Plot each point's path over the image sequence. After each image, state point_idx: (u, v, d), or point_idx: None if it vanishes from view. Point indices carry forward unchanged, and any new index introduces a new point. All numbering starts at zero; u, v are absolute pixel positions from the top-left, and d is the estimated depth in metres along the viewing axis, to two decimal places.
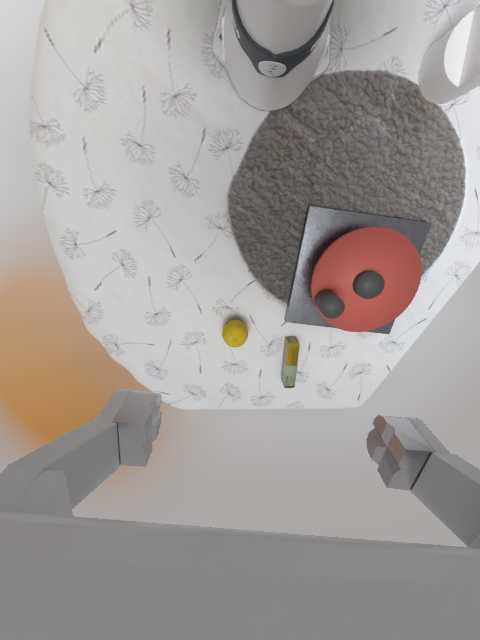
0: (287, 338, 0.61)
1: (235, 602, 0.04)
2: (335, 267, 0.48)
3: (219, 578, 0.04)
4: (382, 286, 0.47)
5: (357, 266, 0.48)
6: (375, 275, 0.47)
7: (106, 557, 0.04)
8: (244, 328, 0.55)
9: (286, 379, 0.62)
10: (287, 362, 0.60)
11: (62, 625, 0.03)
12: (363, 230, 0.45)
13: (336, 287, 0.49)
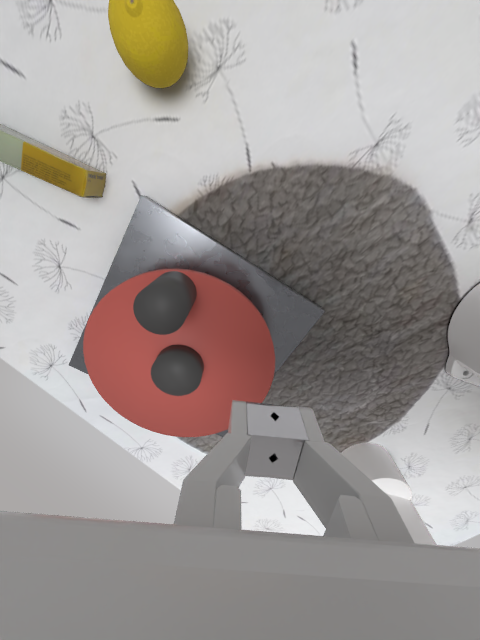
0: (101, 176, 0.27)
1: (235, 602, 0.04)
2: (230, 327, 0.26)
3: (219, 578, 0.04)
4: (167, 391, 0.27)
5: (215, 360, 0.27)
6: (192, 386, 0.26)
7: (106, 556, 0.04)
8: (159, 72, 0.20)
9: None
10: (33, 148, 0.24)
11: (62, 625, 0.03)
12: (269, 381, 0.28)
13: (191, 319, 0.26)
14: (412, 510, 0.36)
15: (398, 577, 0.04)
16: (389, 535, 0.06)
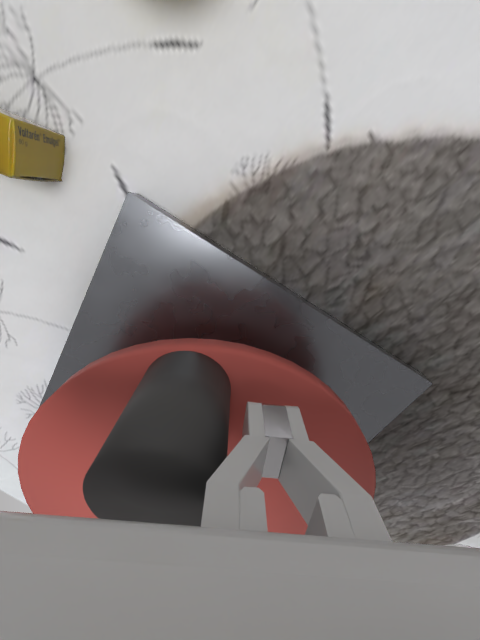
0: (53, 139, 0.14)
1: (235, 602, 0.04)
2: None
3: (219, 578, 0.04)
4: None
5: (264, 493, 0.15)
6: None
7: (106, 557, 0.04)
8: None
9: None
10: None
11: (62, 625, 0.03)
12: None
13: None
14: None
15: (398, 577, 0.04)
16: (367, 533, 0.06)
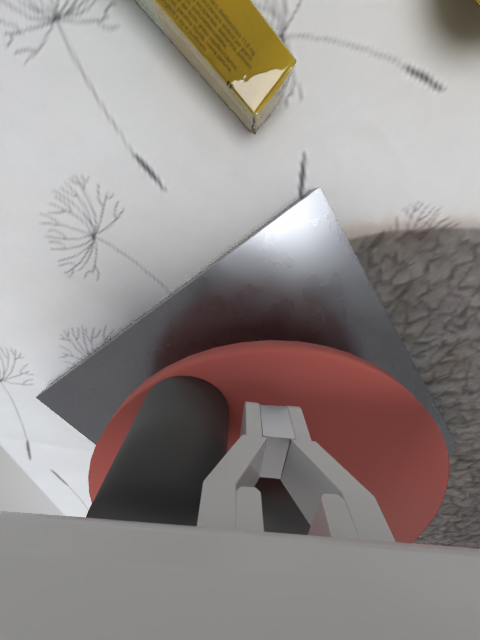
0: (283, 92, 0.13)
1: (235, 602, 0.04)
2: (318, 414, 0.12)
3: (219, 578, 0.04)
4: None
5: None
6: None
7: (106, 557, 0.04)
8: None
9: None
10: None
11: (62, 625, 0.03)
12: (442, 461, 0.14)
13: None
14: None
15: (398, 577, 0.04)
16: (370, 534, 0.06)
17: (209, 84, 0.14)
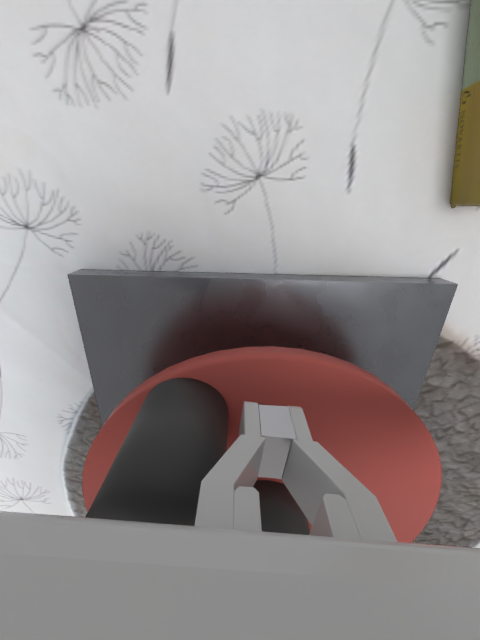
0: None
1: (235, 602, 0.04)
2: (317, 422, 0.13)
3: (219, 578, 0.04)
4: None
5: None
6: None
7: (106, 557, 0.04)
8: None
9: None
10: None
11: (62, 625, 0.03)
12: (435, 474, 0.14)
13: None
14: None
15: (398, 577, 0.04)
16: (372, 534, 0.06)
17: (458, 146, 0.15)
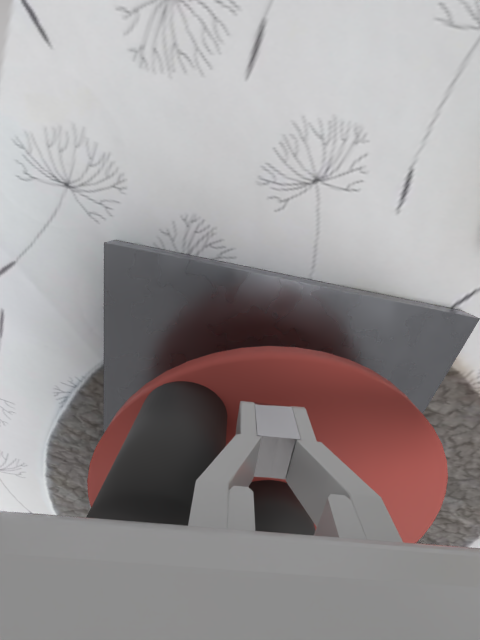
0: None
1: (235, 602, 0.04)
2: (317, 421, 0.12)
3: (219, 578, 0.04)
4: None
5: None
6: None
7: (106, 556, 0.04)
8: None
9: None
10: None
11: (62, 625, 0.03)
12: (441, 468, 0.14)
13: None
14: None
15: (398, 577, 0.04)
16: (378, 534, 0.06)
17: None
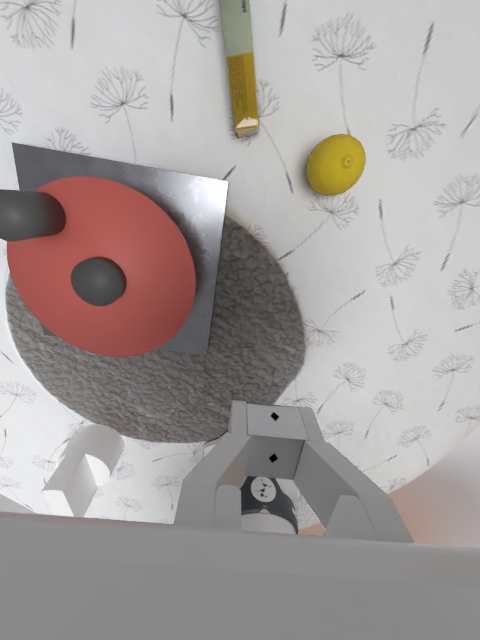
0: (255, 132, 0.29)
1: (235, 602, 0.04)
2: (108, 214, 0.26)
3: (219, 578, 0.04)
4: (102, 304, 0.28)
5: (124, 254, 0.28)
6: (114, 286, 0.27)
7: (107, 555, 0.04)
8: (316, 182, 0.27)
9: None
10: (252, 64, 0.25)
11: (62, 625, 0.03)
12: (181, 243, 0.27)
13: (75, 229, 0.27)
14: (92, 493, 0.44)
15: (398, 577, 0.04)
16: (389, 535, 0.06)
17: None
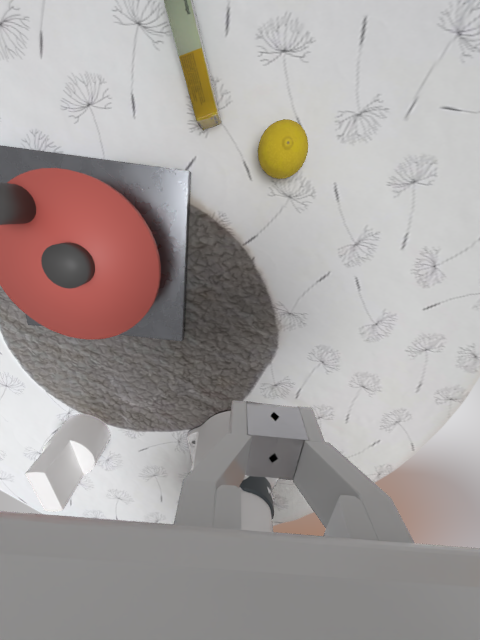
0: (217, 122, 0.31)
1: (235, 602, 0.04)
2: (73, 201, 0.29)
3: (219, 578, 0.04)
4: (72, 286, 0.30)
5: (90, 239, 0.30)
6: (81, 268, 0.30)
7: (107, 556, 0.04)
8: (265, 166, 0.29)
9: None
10: (202, 59, 0.27)
11: (62, 625, 0.03)
12: (142, 227, 0.30)
13: (45, 217, 0.29)
14: (77, 480, 0.45)
15: (398, 577, 0.04)
16: (389, 535, 0.06)
17: None
